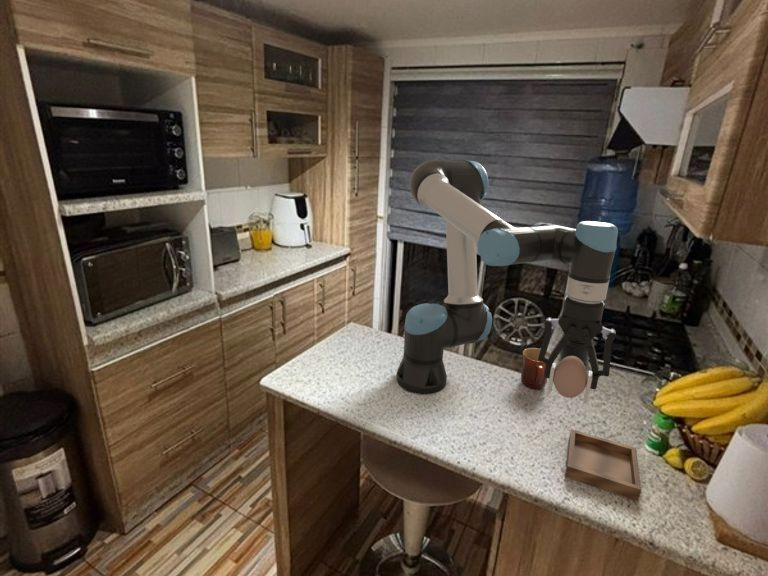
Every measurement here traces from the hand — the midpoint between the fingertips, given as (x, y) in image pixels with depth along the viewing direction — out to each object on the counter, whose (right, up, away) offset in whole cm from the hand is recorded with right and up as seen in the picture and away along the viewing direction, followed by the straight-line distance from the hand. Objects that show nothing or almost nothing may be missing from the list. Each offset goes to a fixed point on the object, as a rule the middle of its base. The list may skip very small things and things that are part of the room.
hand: (567, 395), depth 93 cm
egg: (0, 0, 0) cm, 0 cm away
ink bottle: (+24, -1, +49) cm, 55 cm away
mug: (+4, -6, +32) cm, 33 cm away
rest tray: (+8, -17, +2) cm, 19 cm away
